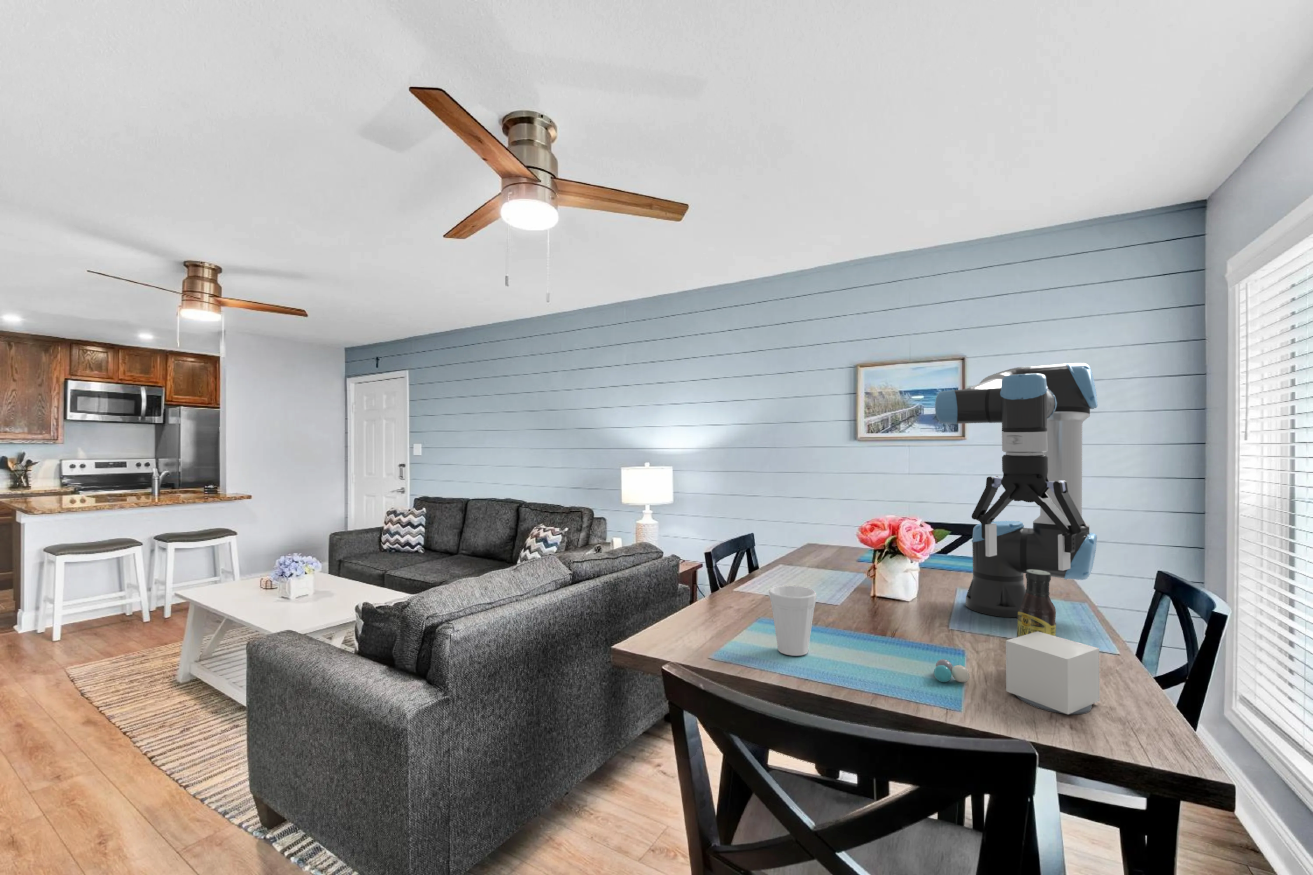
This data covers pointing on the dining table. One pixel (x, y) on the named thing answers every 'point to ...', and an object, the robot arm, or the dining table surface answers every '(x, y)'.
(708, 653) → the dining table surface
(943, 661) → the smoky marble
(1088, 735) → the dining table surface
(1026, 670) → the white block
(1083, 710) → the dark grey disc
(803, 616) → the cup
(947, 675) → the teal marble
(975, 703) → the dining table surface
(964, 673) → the cream marble
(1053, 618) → the sauce bottle
